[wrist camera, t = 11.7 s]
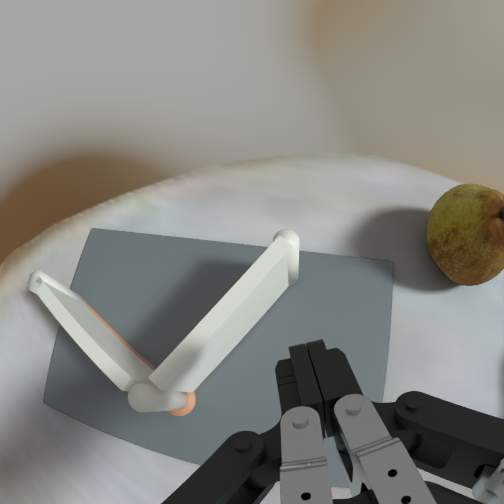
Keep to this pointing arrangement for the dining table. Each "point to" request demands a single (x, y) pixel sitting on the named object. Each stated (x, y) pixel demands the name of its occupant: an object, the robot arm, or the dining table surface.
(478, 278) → the fruit
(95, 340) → the fence fixed
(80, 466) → the dining table surface
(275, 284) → the fence gate
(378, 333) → the card
